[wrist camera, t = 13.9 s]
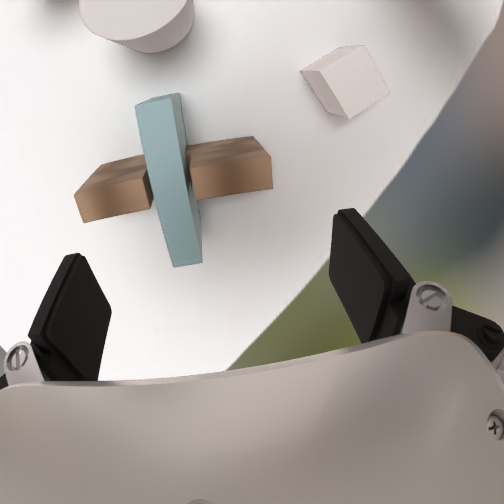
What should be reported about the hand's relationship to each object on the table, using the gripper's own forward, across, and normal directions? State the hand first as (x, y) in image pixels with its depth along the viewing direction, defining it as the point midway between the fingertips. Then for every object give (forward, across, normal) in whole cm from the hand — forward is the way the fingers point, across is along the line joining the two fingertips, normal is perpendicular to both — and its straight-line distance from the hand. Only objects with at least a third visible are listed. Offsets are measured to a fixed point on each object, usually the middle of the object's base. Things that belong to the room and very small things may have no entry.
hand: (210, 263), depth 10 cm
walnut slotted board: (+24, +4, +3) cm, 25 cm away
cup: (+25, +4, -14) cm, 29 cm away
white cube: (+25, -15, -4) cm, 30 cm away
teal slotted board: (+24, +4, +4) cm, 25 cm away
